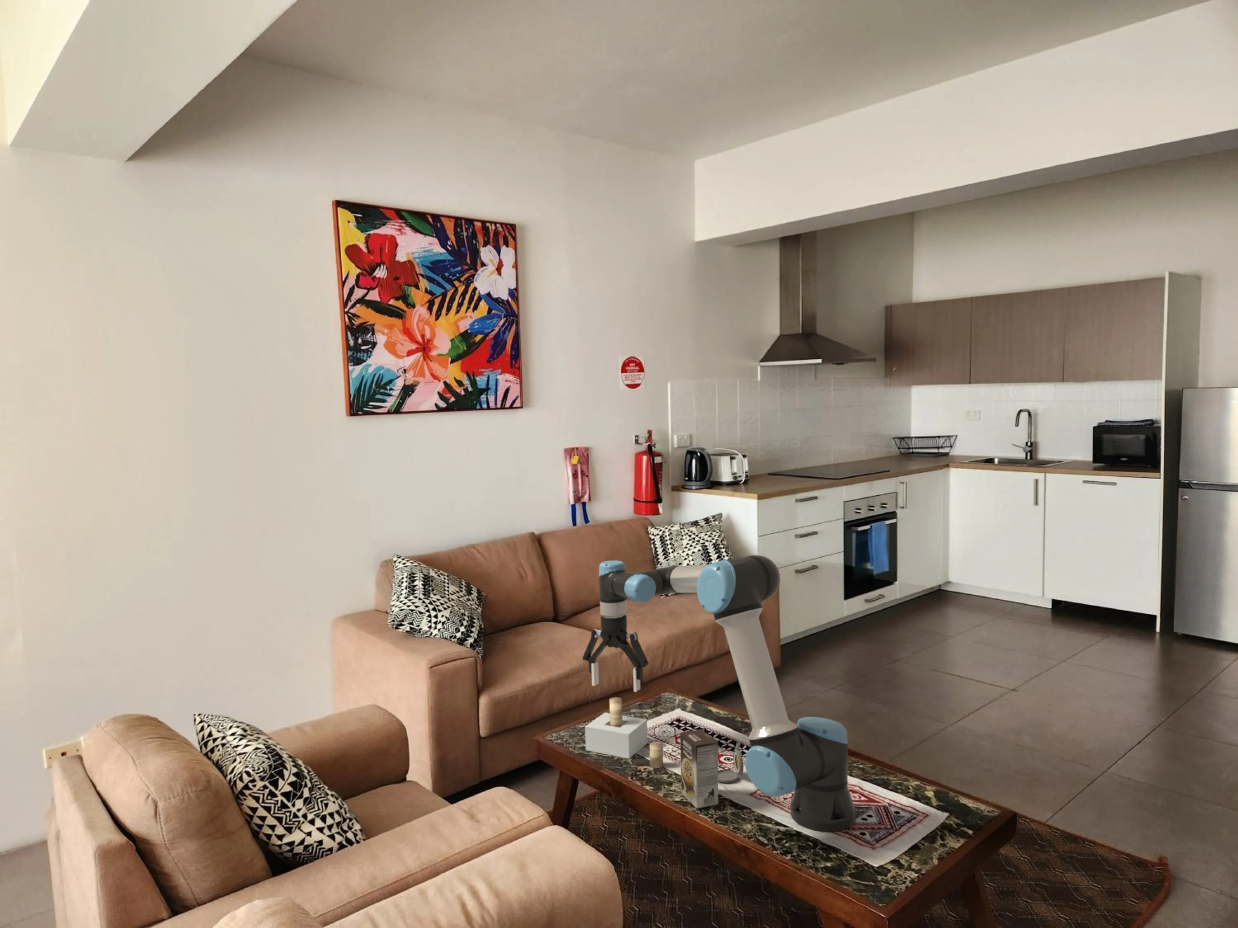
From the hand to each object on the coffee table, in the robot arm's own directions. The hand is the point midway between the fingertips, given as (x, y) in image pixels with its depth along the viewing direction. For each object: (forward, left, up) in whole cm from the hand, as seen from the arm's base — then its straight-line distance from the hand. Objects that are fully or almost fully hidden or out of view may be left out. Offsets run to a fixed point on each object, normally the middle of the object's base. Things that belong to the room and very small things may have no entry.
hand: (616, 687), depth 244 cm
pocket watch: (-6, -37, -18) cm, 41 cm away
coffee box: (-20, -34, -18) cm, 43 cm away
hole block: (0, 0, -18) cm, 18 cm away
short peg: (-7, -16, -18) cm, 25 cm away
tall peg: (0, 0, -18) cm, 18 cm away
